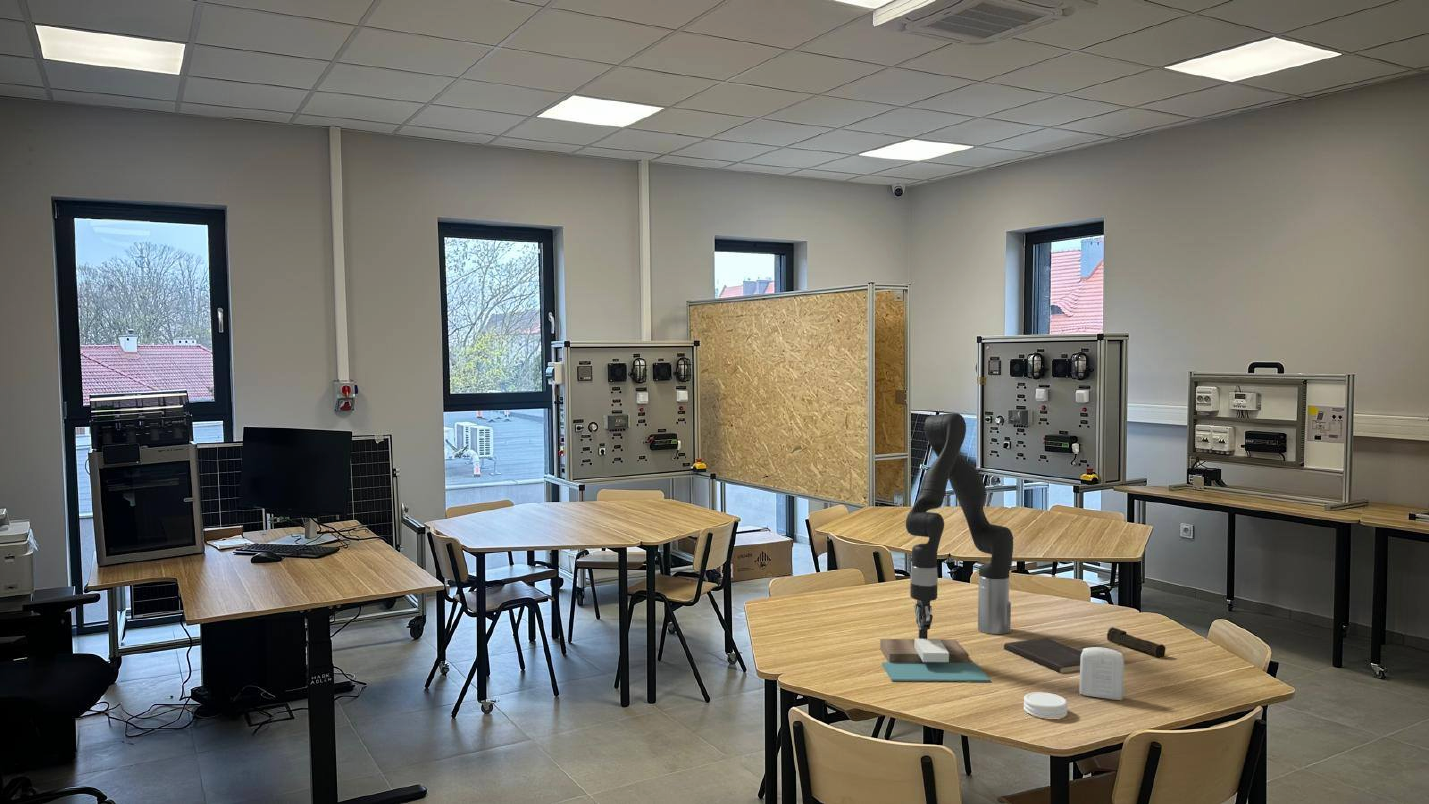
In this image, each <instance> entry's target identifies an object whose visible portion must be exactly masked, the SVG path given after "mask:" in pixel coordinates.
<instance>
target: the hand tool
mask: <svg viewBox="0 0 1429 804" xmlns="http://www.w3.org/2000/svg"><path fill="white" fill-rule="evenodd" d="M1106 640H1107V641H1108V642H1110V643H1113V644H1115V645H1117V646H1120V645H1124V647H1128V648H1131V649H1135V650H1138V651H1141V652H1143V653H1146V654H1148V655H1151V656H1154V657H1155V659H1161V658H1164V656H1165V654H1166V646H1165V645H1164V644H1161V643H1160V644H1158V643H1155V642H1153V641H1150V640H1146V639H1143V638H1140V637H1136V636H1134V635H1130V634H1129V633H1127V631H1125V630H1122V629H1120V628H1117V627H1113V626H1112V627H1110V628H1109V629H1108V631H1107V633H1106ZM1160 657H1161V658H1160Z"/></svg>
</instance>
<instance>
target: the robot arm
mask: <svg viewBox="0 0 1429 804" xmlns="http://www.w3.org/2000/svg"><path fill="white" fill-rule="evenodd" d="M924 433H925V437H926V439H927V441H928V443H929V445H930V447H931V448H932V450H933V452H934V454H935V456H936V457H937V458H936V459H935V460H934V461H933V463H932V464H931V465H930V466H929V468H928V469H927V470H926V472H925V473H924V476H923V477H922V480H921V483H920V489H919V493H918V497H917V498H916V500H915V502H914V504H913V506H912V507H911V509H910V511H909V512H908V514H907V516H906V521H905V528H906V532H907V533H908V534H910V536H911V535H912V536H915V537H924V538H928V541H927V543H918V544H914V546H913V547H912V548H911V569H910V592H909V593H910V594H909V595H910V598H911V599H913V600H915V601H916V603H915V604H914V610H915V611H914V612H915V620H916V622H915V623H916V625H917V628H918V639H928V632H929V630H930V629H931V626H932V622H933V617H934V616H933V614H932V612H933V610H932V609H933V607H932V605H931V601H935V600H937V599H938V585H939V584H938V577H939V576H938V575H939V574H938V551H939V545H940V543H941V539H942V535H943V532H944V529H945V521H944V520H945V519H944V517H943V516H942V515H941V514H940V513H938V512H932V511H931V512H930V510H936V509H939V508H941V507H942V506H943V503H944V500H945V499H944V498H945V495H946V490H947V487H948V482H949V483H950V485H951V487H952V488H951V489H952V491H953V493H954V495H955V497H956V498H957V499H956V500H957V501H958V503H959V505H960V508H961V510H962V512H963V515H964V518H965V520H966V522H967V526H968V529H969V532H970V535H971V538H972V541H973V544H974V547H975V548H976V549H977V550H978V551H980V552H981V553H984V554H988V555H991V558H990V562H989V563H984V564H981V565H980V566H979V567H978V591H977V592H978V593H977V595H978V597H977V598H978V600H977V601H978V602H977V630H978V631H979V632H981V633H986V634H991V635H1003V634H1008V633H1009V634H1010V633H1011V628H1012V627H1011V624H1012V623H1011V622H1012V621H1011V620H1012V619H1011V618H1012V615H1011V614H1012V603H1011V601H1010V572H1011V570H1012V565H1013V552H1014V536H1013V532H1012V531H1011V529H1010V528H1008V527H1006V526H1002V525H996V524H991V522H990V521H989V520H988V519H987V517H986V514H985V511H984V506H985V502H986V497H987V488H986V485H985V483H984V480H983V478H982V477H981V474H980V472H979V470H978V469H977V468H976V467H975V466H974V465H973V464H972V463H970V462H969V461H968V460H967V459H965V458H964V457H962V456H961V455H960V451H961V450H962V446H963V443H964V441H965V438H966V433H967V423H966V420H965V418H964V416H963V415H961V414H960V413H958V412H957V413H956V412H951V413H941V414H933V415H929V416H928V417H926V418H925V421H924Z"/></svg>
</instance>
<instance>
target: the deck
mask: <svg viewBox="0 0 1429 804" xmlns="http://www.w3.org/2000/svg"><path fill="white" fill-rule="evenodd" d="M914 639H915V638H880V639H879V641H880V642H879V643H880V649H879V650H880V651H881V653H882V652H883V653H882V654H883V656H884V658H885V659H886V662H922V663H969V656H970V655H969V653H968V652H967V651H966V649H965V648H964V647H963V646H962V645H961V644H960V643H959V641H957V639H952V638H951V639H950V638H949V639H948V638H946V639H944V638H943V639H940V638H939V639H940V641H941V642H942V644H943V645H944V647H945V648H946V649H947V651H948V652H949V662H923V661H922V659H921V658H920V656H919V654H918V653H917V651H916V649H915V648H914Z"/></svg>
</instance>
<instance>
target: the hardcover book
mask: <svg viewBox="0 0 1429 804" xmlns="http://www.w3.org/2000/svg"><path fill="white" fill-rule="evenodd" d="M1003 650H1005V651H1007V652H1009V653H1011V652H1012V654H1013V655H1017V656H1018V655H1019V657H1020V658H1022V659H1023V658H1024V659H1025V660H1028V661H1030V662H1032V661H1033V663H1035V664H1037V665H1039V666H1042V667H1044V668H1047V669H1048V670H1051V671H1053V670H1054V671H1053V672H1055V671H1056V673H1057V674H1062V673H1068V672H1075V671H1080V658H1081V653H1082V652H1083V650H1079V649H1077V648H1074V647H1072V646H1069V645H1067V644H1065V643H1061V642H1059V641H1056V640H1054V639H1052V638H1048V637H1043V638H1036V639H1027V640H1020V641H1013V642H1005V643H1004V645H1003Z"/></svg>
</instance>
